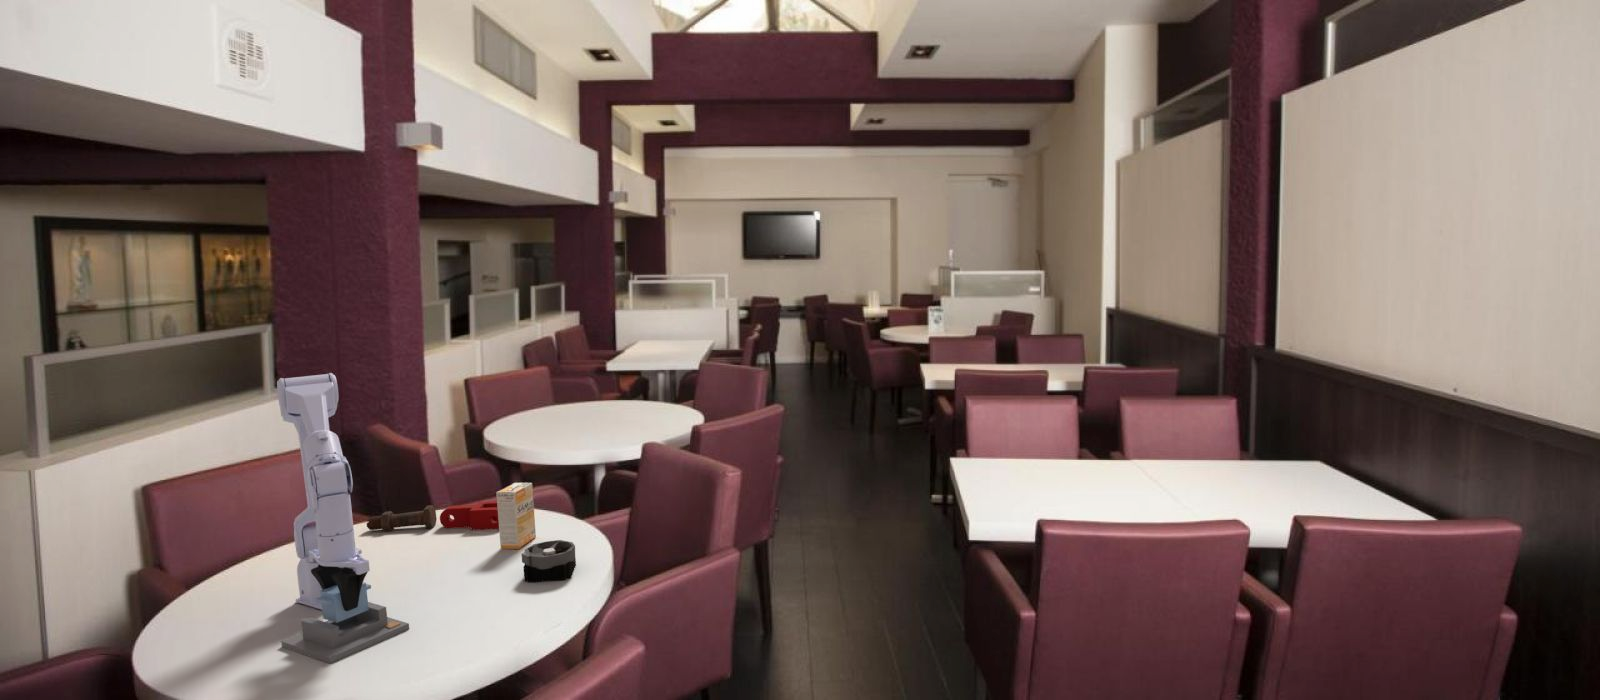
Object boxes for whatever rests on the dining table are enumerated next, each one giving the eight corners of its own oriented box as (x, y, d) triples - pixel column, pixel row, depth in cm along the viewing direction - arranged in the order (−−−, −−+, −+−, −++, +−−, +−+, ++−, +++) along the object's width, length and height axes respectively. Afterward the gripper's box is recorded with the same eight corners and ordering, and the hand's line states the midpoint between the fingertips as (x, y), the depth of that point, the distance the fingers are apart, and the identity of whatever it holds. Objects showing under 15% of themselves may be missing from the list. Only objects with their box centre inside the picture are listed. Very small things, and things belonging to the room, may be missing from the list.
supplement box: (519, 549, 206) (515, 492, 205) (499, 549, 207) (495, 491, 206) (537, 537, 214) (533, 482, 213) (518, 536, 215) (513, 481, 214)
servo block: (316, 621, 161) (313, 590, 160) (361, 603, 168) (358, 573, 167) (330, 625, 159) (326, 593, 158) (374, 607, 166) (371, 577, 165)
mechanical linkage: (513, 520, 229) (511, 500, 228) (504, 529, 222) (503, 509, 221) (447, 523, 228) (445, 503, 228) (437, 532, 221) (435, 512, 221)
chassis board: (281, 646, 161) (279, 622, 160) (361, 614, 174) (359, 591, 173) (329, 663, 154) (327, 638, 153) (409, 628, 166) (407, 605, 166)
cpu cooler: (578, 537, 196) (570, 554, 186) (580, 563, 197) (572, 581, 187) (528, 541, 195) (518, 557, 185) (530, 567, 196) (520, 585, 186)
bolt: (371, 537, 225) (436, 531, 226) (363, 533, 220) (430, 526, 222) (372, 514, 227) (436, 507, 229) (365, 509, 222) (430, 502, 224)
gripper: (382, 530, 161) (389, 605, 163) (332, 519, 168) (340, 591, 170) (344, 542, 155) (352, 620, 157) (294, 530, 162) (302, 605, 164)
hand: (343, 606), depth 163 cm, fingers closed on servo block, 4 cm apart
